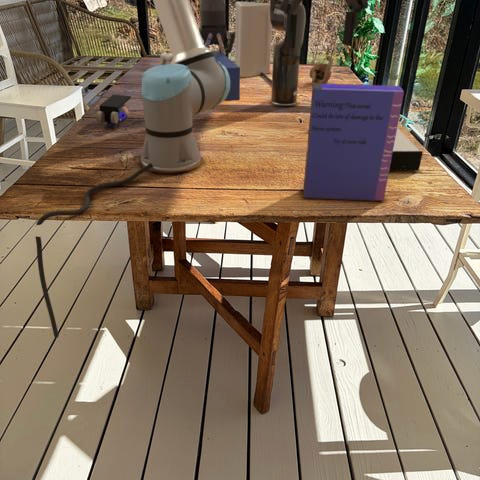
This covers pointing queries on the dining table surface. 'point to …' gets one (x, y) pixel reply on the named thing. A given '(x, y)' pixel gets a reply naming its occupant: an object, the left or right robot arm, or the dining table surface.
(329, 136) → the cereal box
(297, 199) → the dining table surface
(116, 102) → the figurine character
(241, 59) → the tall white block
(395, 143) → the disc drive
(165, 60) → the toy
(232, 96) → the bar
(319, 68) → the anatomical model
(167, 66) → the left robot arm
